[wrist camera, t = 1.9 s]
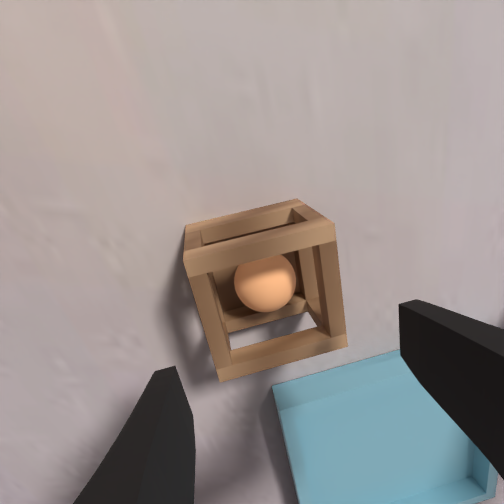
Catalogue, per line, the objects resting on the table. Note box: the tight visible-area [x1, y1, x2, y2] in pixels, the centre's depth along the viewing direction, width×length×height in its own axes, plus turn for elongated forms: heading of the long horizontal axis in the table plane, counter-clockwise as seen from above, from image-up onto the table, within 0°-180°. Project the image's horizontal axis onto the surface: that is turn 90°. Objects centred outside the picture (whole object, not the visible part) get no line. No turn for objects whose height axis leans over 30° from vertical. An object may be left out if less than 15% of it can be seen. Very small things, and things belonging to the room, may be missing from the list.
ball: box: [234, 254, 296, 312], centre depth 16 cm, size 3×3×3 cm
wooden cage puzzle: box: [183, 199, 348, 382], centre depth 16 cm, size 6×6×5 cm
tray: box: [272, 350, 498, 504], centre depth 23 cm, size 15×15×2 cm
